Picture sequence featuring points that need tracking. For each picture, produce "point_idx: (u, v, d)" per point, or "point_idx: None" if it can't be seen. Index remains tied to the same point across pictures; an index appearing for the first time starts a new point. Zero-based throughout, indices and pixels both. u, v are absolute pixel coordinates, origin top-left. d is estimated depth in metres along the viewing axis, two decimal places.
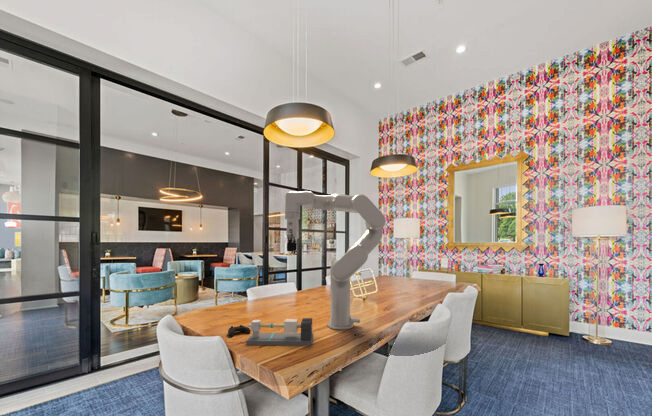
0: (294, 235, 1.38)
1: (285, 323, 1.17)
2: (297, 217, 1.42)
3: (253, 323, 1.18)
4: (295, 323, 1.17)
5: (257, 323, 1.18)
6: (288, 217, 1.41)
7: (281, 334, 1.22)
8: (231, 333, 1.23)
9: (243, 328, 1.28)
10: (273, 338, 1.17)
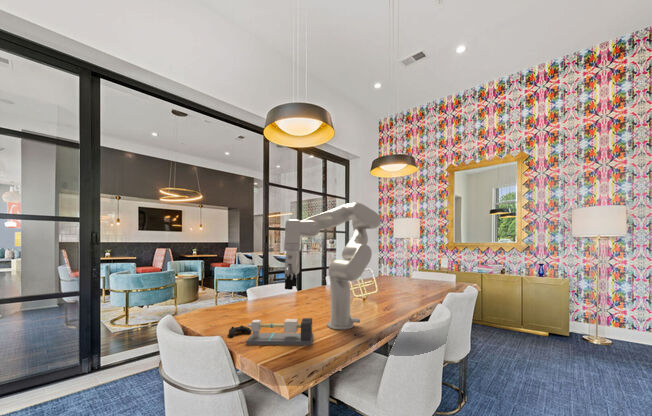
0: (293, 271, 1.20)
1: (285, 323, 1.17)
2: (298, 249, 1.24)
3: (253, 323, 1.18)
4: (295, 323, 1.17)
5: (257, 323, 1.18)
6: (287, 249, 1.23)
7: (281, 334, 1.22)
8: (232, 334, 1.23)
9: (244, 329, 1.27)
10: (273, 338, 1.17)
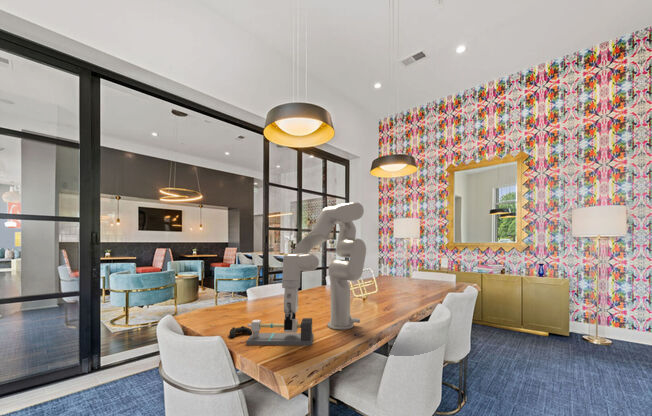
0: (293, 310, 1.15)
1: None
2: (297, 286, 1.18)
3: (253, 323, 1.18)
4: (295, 323, 1.17)
5: (257, 323, 1.18)
6: (286, 286, 1.17)
7: (281, 334, 1.22)
8: (233, 334, 1.22)
9: (245, 329, 1.26)
10: (273, 338, 1.17)
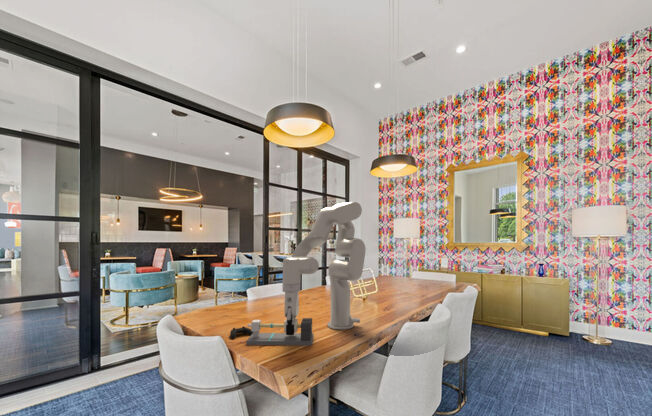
0: (294, 314, 1.15)
1: (285, 323, 1.17)
2: (297, 290, 1.18)
3: (253, 323, 1.18)
4: (295, 323, 1.17)
5: (257, 323, 1.18)
6: (286, 290, 1.17)
7: (281, 334, 1.22)
8: (233, 335, 1.21)
9: (245, 330, 1.26)
10: (273, 338, 1.17)
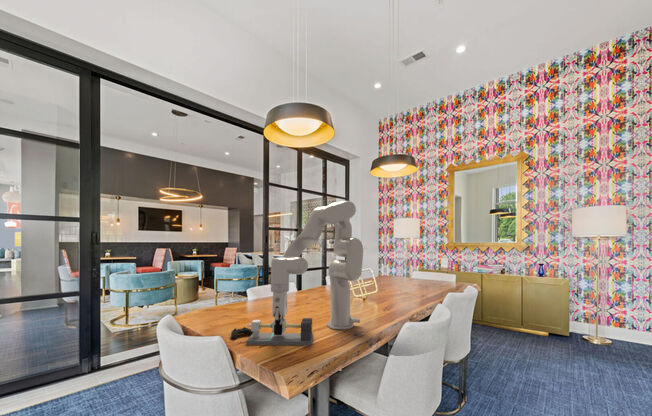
0: (282, 314, 1.15)
1: (273, 323, 1.17)
2: (285, 290, 1.18)
3: (253, 323, 1.18)
4: (283, 323, 1.17)
5: (257, 323, 1.18)
6: (274, 290, 1.17)
7: None
8: (234, 336, 1.20)
9: (247, 330, 1.25)
10: (273, 338, 1.17)
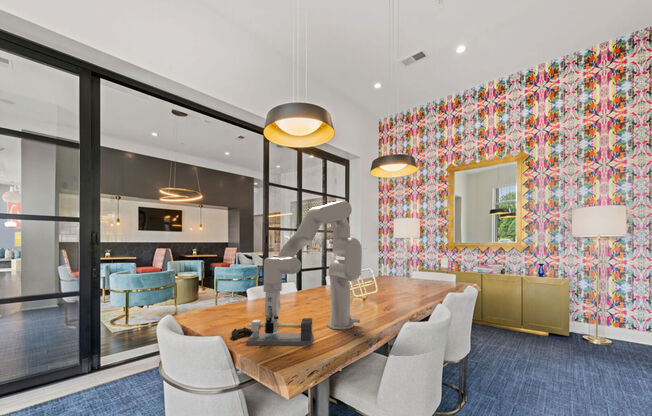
0: (274, 313, 1.15)
1: None
2: (278, 289, 1.19)
3: (253, 323, 1.18)
4: (275, 323, 1.17)
5: (257, 323, 1.18)
6: (267, 290, 1.18)
7: (281, 334, 1.22)
8: (235, 336, 1.20)
9: (247, 330, 1.24)
10: (273, 338, 1.17)
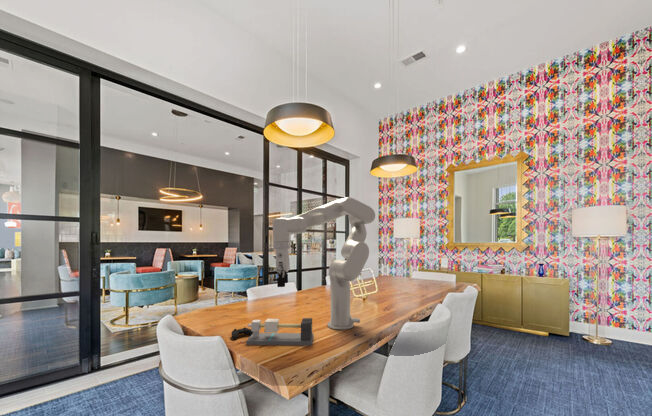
0: (285, 268, 1.23)
1: (266, 323, 1.17)
2: (287, 247, 1.26)
3: (253, 323, 1.18)
4: (275, 323, 1.17)
5: (257, 323, 1.18)
6: (277, 248, 1.25)
7: (281, 334, 1.22)
8: (235, 336, 1.20)
9: (247, 330, 1.24)
10: (273, 338, 1.17)
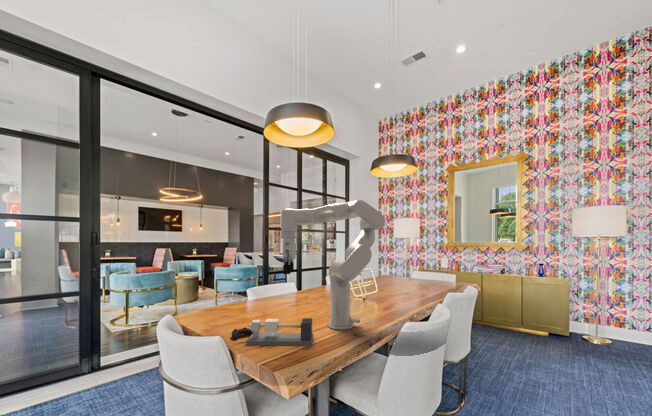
0: (291, 256, 1.28)
1: (266, 323, 1.17)
2: (294, 236, 1.32)
3: (253, 323, 1.18)
4: (275, 323, 1.17)
5: (257, 323, 1.18)
6: (284, 237, 1.31)
7: (281, 334, 1.22)
8: (236, 336, 1.20)
9: (247, 330, 1.24)
10: (273, 338, 1.17)
